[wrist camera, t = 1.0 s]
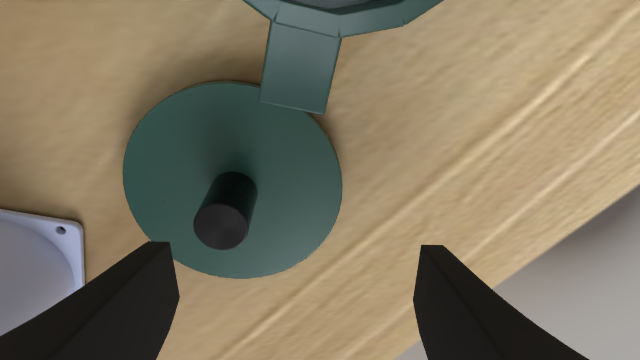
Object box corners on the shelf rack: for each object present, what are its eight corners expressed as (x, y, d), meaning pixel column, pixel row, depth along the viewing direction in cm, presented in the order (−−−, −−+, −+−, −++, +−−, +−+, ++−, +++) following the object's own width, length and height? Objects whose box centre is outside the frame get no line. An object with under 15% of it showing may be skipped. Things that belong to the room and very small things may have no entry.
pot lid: (129, 250, 23) (88, 306, 19) (133, 55, 18) (82, 71, 14) (316, 280, 24) (318, 339, 20) (364, 104, 20) (379, 133, 15)
